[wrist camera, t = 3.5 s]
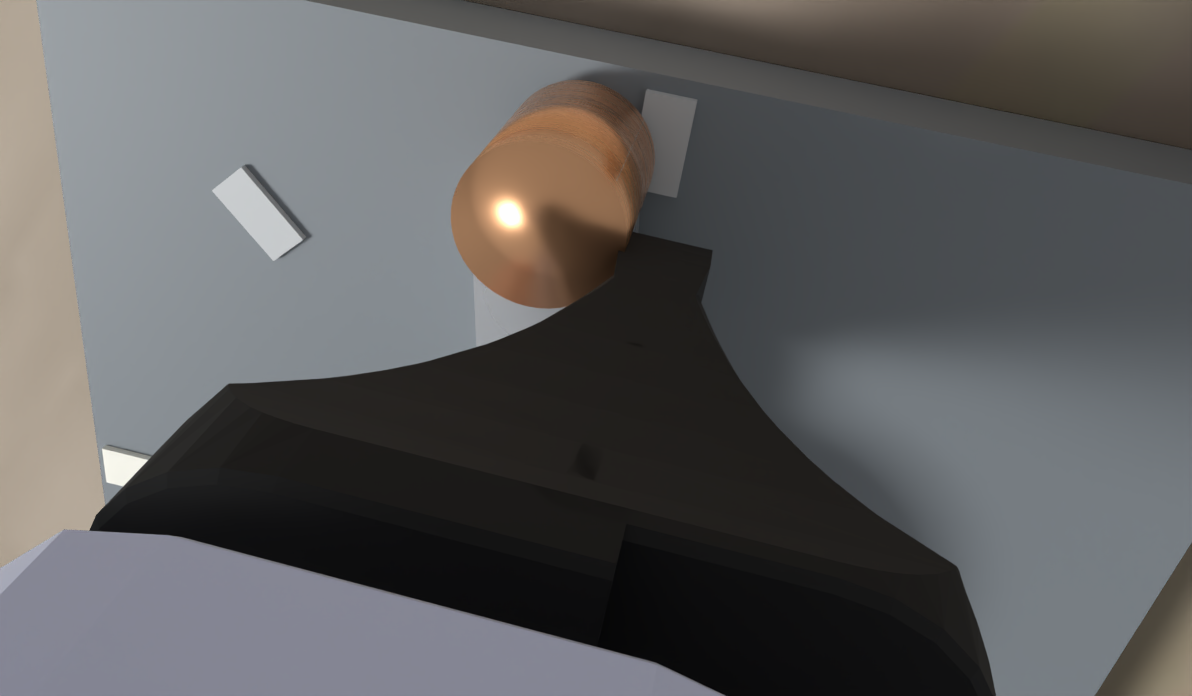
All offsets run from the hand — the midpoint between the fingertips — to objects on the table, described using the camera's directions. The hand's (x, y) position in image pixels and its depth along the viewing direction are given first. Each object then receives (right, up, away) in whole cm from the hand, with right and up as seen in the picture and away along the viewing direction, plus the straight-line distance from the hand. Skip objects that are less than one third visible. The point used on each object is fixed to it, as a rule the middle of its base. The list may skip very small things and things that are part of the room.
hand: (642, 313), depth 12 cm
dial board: (-1, -3, +5) cm, 6 cm away
